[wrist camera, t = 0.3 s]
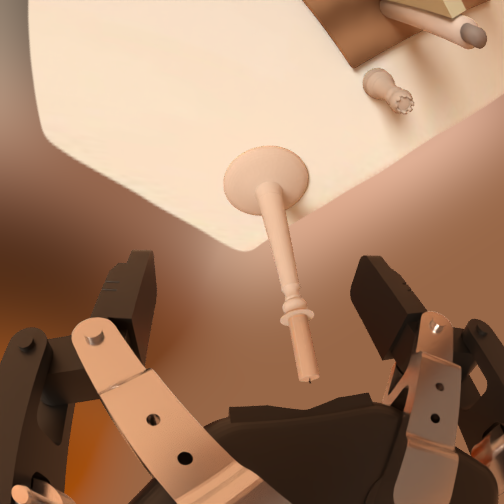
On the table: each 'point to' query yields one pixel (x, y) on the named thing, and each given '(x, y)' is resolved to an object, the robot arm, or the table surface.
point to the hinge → (437, 19)
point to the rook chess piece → (387, 90)
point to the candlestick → (277, 231)
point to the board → (363, 26)
